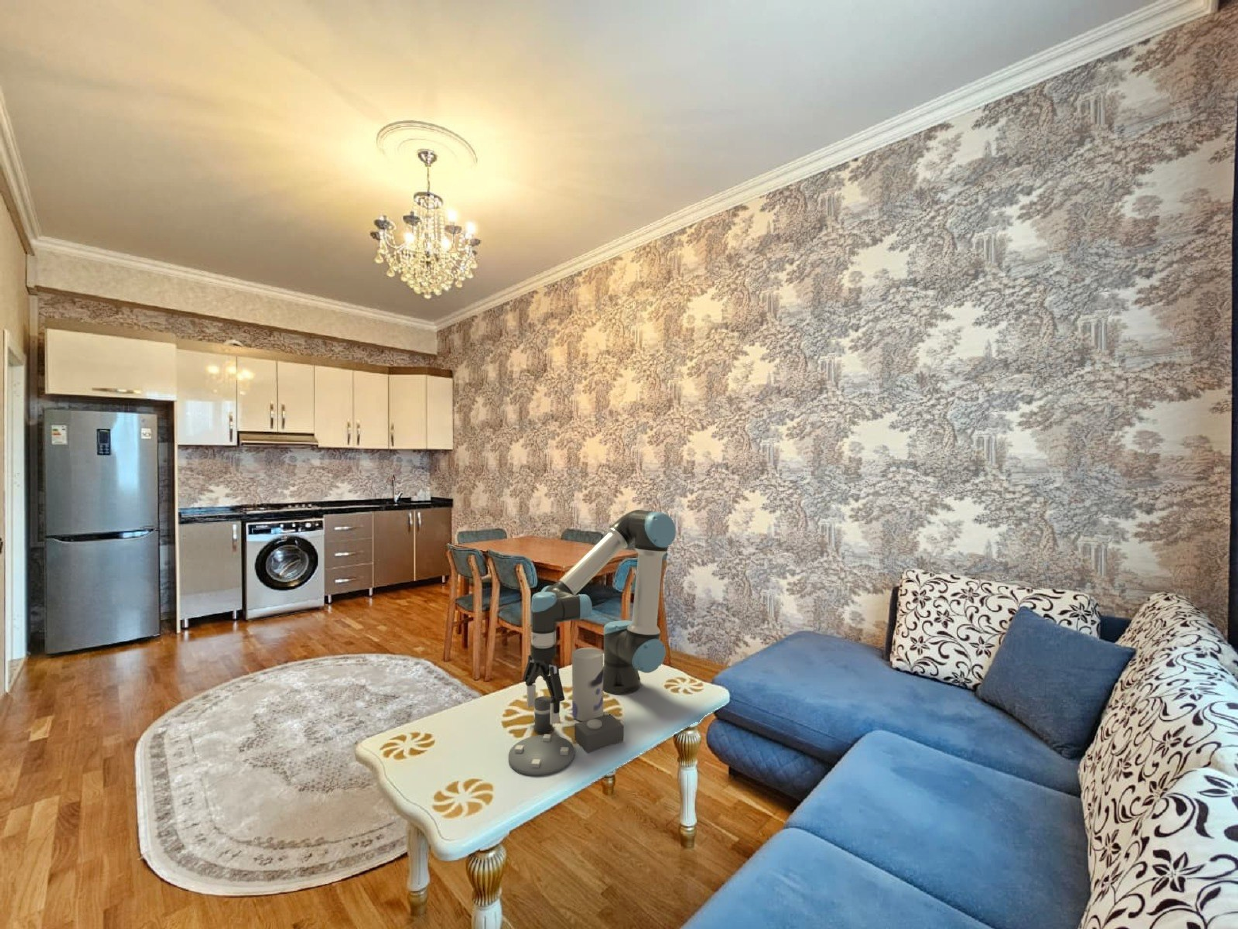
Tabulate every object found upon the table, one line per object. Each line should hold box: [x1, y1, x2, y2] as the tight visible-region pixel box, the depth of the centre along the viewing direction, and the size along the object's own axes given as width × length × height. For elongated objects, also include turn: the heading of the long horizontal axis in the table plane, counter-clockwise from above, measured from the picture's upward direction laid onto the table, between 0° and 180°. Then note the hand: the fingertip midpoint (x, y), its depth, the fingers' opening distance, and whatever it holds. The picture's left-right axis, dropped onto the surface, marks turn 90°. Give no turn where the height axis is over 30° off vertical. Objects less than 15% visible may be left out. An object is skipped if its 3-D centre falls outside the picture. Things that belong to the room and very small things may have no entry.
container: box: [571, 647, 604, 722], centre depth 164 cm, size 10×10×20 cm
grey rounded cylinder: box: [533, 695, 554, 735], centre depth 155 cm, size 6×6×9 cm
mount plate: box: [508, 733, 575, 777], centre depth 140 cm, size 18×18×2 cm
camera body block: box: [574, 713, 625, 754], centre depth 148 cm, size 12×8×6 cm, turn 120°
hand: (542, 714), depth 155 cm, fingers open, 13 cm apart
